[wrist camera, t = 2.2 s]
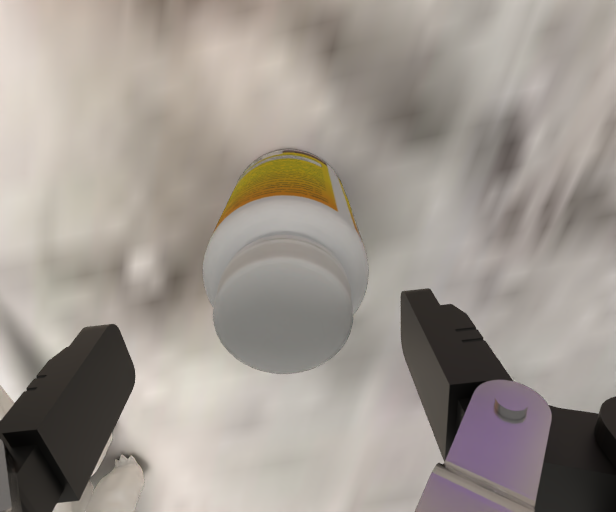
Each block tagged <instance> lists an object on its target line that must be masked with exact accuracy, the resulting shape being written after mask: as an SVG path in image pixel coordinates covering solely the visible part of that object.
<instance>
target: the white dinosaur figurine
mask: <svg viewBox="0 0 616 512" xmlns="http://www.w3.org/2000/svg"><path fill="white" fill-rule="evenodd" d="M13 405H14V402H13V401H12V399H11V398H10V397H9V396H8V394H7V393H6V392H5V391H4V389H3V388H2V387H1V385H0V421H1V420H2V418H3V417H4V416H5V415H6V413H7V412H8V411H9V410H10V408H11V407H12V406H13ZM112 439H113V434H112V433H111V436H110V438H109V440H108V442H107V444H106V446H105V448H104V450H103V452H102V454H101V456H100V458H99V461H98V463H97V465H96V467H95V469H94V471H93V473H92V475H93V474H94V473H95V472H96V471H97V469H98V468H99V466H100V465H101V462H102V460H103V459H104V457H105V455H106V452H107V449H108V447H109V446H110V444H111V442H112ZM92 475H91V476H92ZM144 483H145V481H144V477H143V471H142V469H141V467H140V466H139V465H138V463H137V462H136V460H135V458H134V457H133V456H130V457H129V459H127V458H126V457H125V456H124V455H122V454H121V456H120V459H119V460H116V459H115V468H114V469H113V470H112V471H111V472H110V473H109V474H107V475H106V476H104V477H103V478H102V479H101V480H100V481H99V483H98V484H97V486H96V488H95V490H94V489H93V485H92V483H91V481H90V479H89V481H88V483H87V486H86V488H85V490H84V492H83V494H82V496H81V498H80V500H79V501H72V502H62V503H57V504H56V506H55V508H54V510H53V511H52V512H134V511H135V508H136V504H137V502H138V499H139V496H140V493H141V491H142V489H143V487H144ZM93 490H94V492H93ZM92 493H93V494H92Z"/></svg>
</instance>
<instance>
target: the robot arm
mask: <svg viewBox="0 0 616 512" xmlns="http://www.w3.org/2000/svg"><path fill="white" fill-rule="evenodd" d="M401 342H402V349H403V353H404V357H405V360H406V363H407V365H408V368H409V371H410V373H411V376H412V378H413V381H414V384H415V386H416V389H417V392H418V394H419V397H420V399H421V402H422V405H423V407H424V410H425V412H426V415H427V418H428V420H429V423H430V426H431V428H432V431H433V433H434V436H435V439H436V441H437V444H438V446H439V449H440V452H441V454H442V457H443V460H444V464H440V463H438V464H437V465H436V466H435V468H434V469H433V471H432V473H431V475H430V478H429V480H428V482H427V484H426V487H425V489H424V491H423V494H422V496H421V498H420V501H419V503H418V505H417V507H416V510H415V512H616V397H613V398H610V399H608V400H606V401H605V402H604V403H603V404H602V406H601V409H600V412H599V414H597V413H590V412H583V411H576V410H569V409H562V408H557V407H553V406H550V405H548V404H547V402H546V401H545V400H544V399H543V398H542V397H541V396H540V395H539V394H538V393H537V392H536V391H534V390H532V389H531V388H529V387H527V386H525V385H523V384H520V383H517V382H513V380H512V379H511V377H510V376H509V374H508V373H507V372H506V370H505V369H504V367H503V366H502V364H501V363H500V361H499V360H498V359H497V357H496V356H495V354H494V353H493V351H492V350H491V348H490V347H489V346H488V344H487V343H486V341H484V340H483V337H482V335H481V334H480V333H479V331H478V330H476V327H475V325H474V324H473V322H472V321H471V320H470V318H469V317H468V315H467V314H466V313H464V312H463V311H461V310H460V309H458V308H457V307H455V306H454V305H452V304H447V305H440V304H439V303H438V301H437V299H436V298H435V296H434V294H433V293H432V291H431V290H430V289H429V288H428V289H419V290H410V291H402V293H401ZM134 383H135V369H134V365H133V362H132V360H131V357H130V355H129V352H128V350H127V347H126V345H125V342H124V340H123V337H122V335H121V332H120V330H119V328H118V327H117V326H116V325H114V324H109V325H100V326H91V327H85V328H83V329H82V330H81V332H80V333H79V334H78V336H77V337H76V338H75V339H74V341H73V342H72V343H71V345H70V346H69V347H66V348H65V349H63V350H62V351H61V352H60V353H58V354H57V355H56V356H54V357H53V358H52V359H51V360H49V361H48V362H47V364H46V365H45V366H44V367H43V369H42V370H41V371H40V372H39V374H38V375H37V379H34V380H33V381H32V382H31V383H30V385H29V386H28V387H27V391H25V392H23V393H22V395H21V396H20V397H19V398H18V400H17V401H16V402H15V403H14V405H13V406H12V407H11V408H10V410H9V411H8V412H7V413H6V415H5V416H4V417H3V418H2V420H1V421H0V512H52V511H53V510H54V508H55V506H56V504H57V503H62V502H72V501H79V500H80V498H81V496H82V494H83V492H84V490H85V488H86V486H87V483H88V481H89V479H90V477H91V475H92V473H93V471H94V469H95V467H96V465H97V463H98V461H99V458H100V456H101V454H102V452H103V450H104V448H105V446H106V444H107V442H108V440H109V438H110V436H111V433H112V431H113V429H114V427H115V425H116V423H117V421H118V419H119V417H120V415H121V413H122V411H123V408H124V406H125V404H126V402H127V400H128V398H129V396H130V394H131V392H132V390H133V387H134Z"/></svg>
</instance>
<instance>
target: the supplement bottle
mask: <svg viewBox="0 0 616 512" xmlns="http://www.w3.org/2000/svg"><path fill="white" fill-rule="evenodd" d="M368 272H369V269H368V260H367V255H366V251H365V247H364V244H363V242H362V239H361V236H360V233H359V230H358V227H357V224H356V222H355V219H354V215H353V213H352V210H351V207H350V204H349V201H348V198H347V196H346V193H345V190H344V188H343V185H342V183H341V181H340V179H339V178H338V176H337V174H336V173H335V172H334V170H333V169H332V168H331V167H330V166H329V165H328V164H327V163H326V162H324V161H323V160H321V159H320V158H318V157H316V156H314V155H312V154H310V153H307V152H304V151H298V150H291V149H290V150H278V151H274V152H271V153H268V154H266V155H264V156H262V157H260V158H258V159H257V160H255V161H254V162H253V163H252V164H251V165H249V166H248V167H247V169H246V170H245V171H244V172H243V174H242V175H241V177H240V179H239V180H238V182H237V184H236V186H235V188H234V191H233V193H232V195H231V197H230V199H229V201H228V203H227V205H226V207H225V209H224V211H223V213H222V215H221V217H220V219H219V222H218V224H217V226H216V228H215V230H214V232H213V234H212V236H211V239H210V241H209V243H208V246H207V249H206V252H205V256H204V261H203V281H204V287H205V290H206V293H207V296H208V298H209V301H210V303H211V305H212V306H213V321H214V326H215V329H216V332H217V335H218V337H219V339H220V341H221V343H222V344H223V345H224V347H225V348H226V349H227V350H228V351H229V352H230V353H231V354H232V355H233V356H234V357H235V358H236V359H238V360H239V361H241V362H242V363H244V364H246V365H248V366H250V367H252V368H255V369H258V370H261V371H265V372H269V373H277V374H291V373H298V372H303V371H307V370H310V369H313V368H315V367H317V366H320V365H322V364H323V363H325V362H327V361H328V360H329V359H331V358H332V357H333V356H334V355H335V354H336V353H337V352H338V351H339V350H340V349H341V348H342V347H343V345H344V344H345V342H346V341H347V339H348V337H349V334H350V331H351V328H352V324H353V315H354V313H355V312H356V311H357V309H358V307H359V306H360V304H361V302H362V300H363V298H364V295H365V292H366V289H367V284H368Z"/></svg>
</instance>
